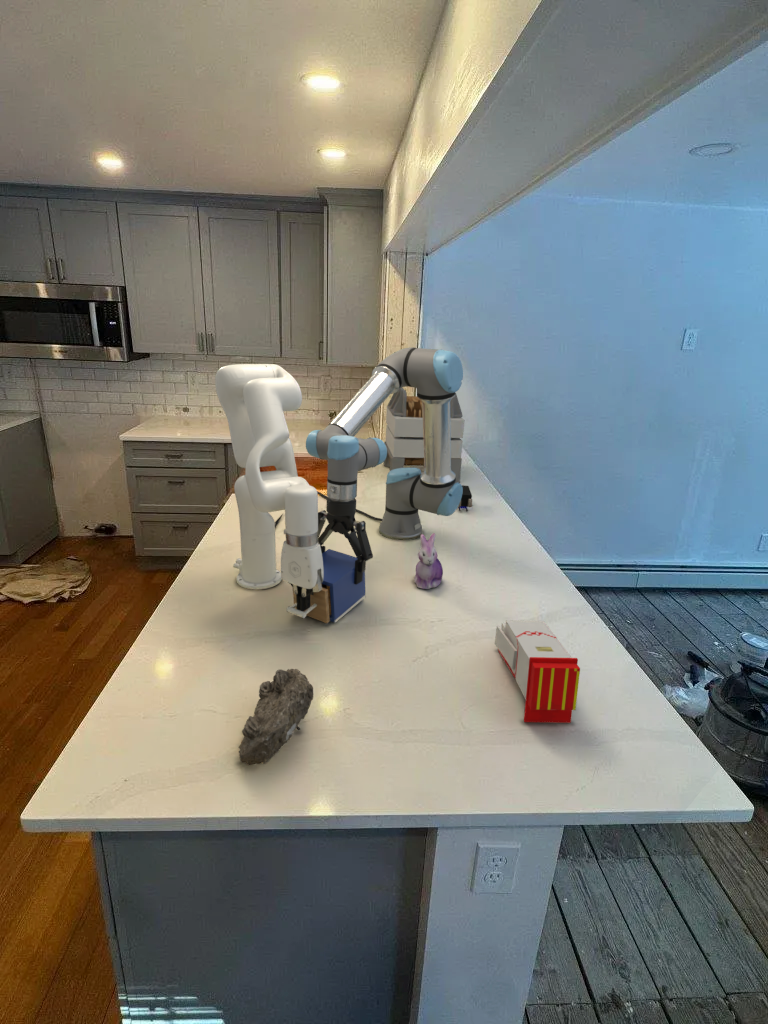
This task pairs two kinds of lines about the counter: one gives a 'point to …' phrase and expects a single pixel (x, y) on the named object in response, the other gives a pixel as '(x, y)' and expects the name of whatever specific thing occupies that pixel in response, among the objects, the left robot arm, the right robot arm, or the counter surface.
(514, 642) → the toy
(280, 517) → the feather
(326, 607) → the drawer
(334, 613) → the cabinet
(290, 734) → the fossil
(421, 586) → the figurine
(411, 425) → the grey wooden crate
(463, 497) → the figurine character
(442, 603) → the counter surface
